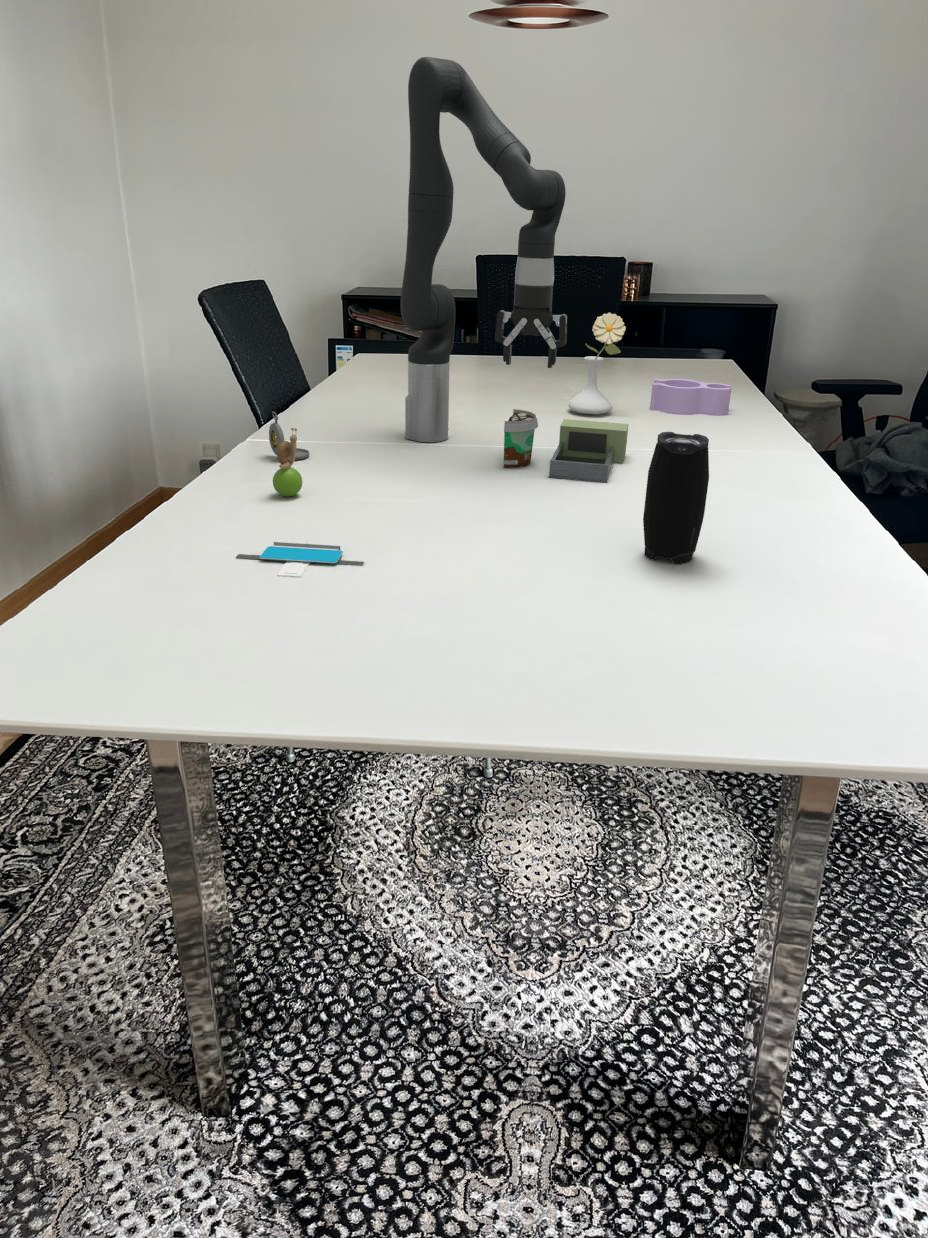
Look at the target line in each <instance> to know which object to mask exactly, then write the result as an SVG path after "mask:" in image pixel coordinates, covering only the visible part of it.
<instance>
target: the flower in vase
mask: <svg viewBox="0 0 928 1238" xmlns="http://www.w3.org/2000/svg"><path fill="white" fill-rule="evenodd" d="M626 328H627V326H625V322H624V321H623V318H621V316H619V315H617V314H616V313H612V312H607V313H603V314H602V315H600V316H597V317H596V320H595V321H594V324H593V325H592V329H591V330H592V331H591V332H593V335H594V337H595V340H596V341H598V342H600V343H604V346H603V347H602V348H601V350H600V351H598V350H597V349H596V348H595V347H591V346H590V345H588V344H587V343H586V342H585V346H586V347H587V348H588V349H589V350H591V351H593V352H595V353H597V355H596V356H591V355H590V356H589V355H588V356H585V357H583V358H584V361H585V363H586V365H587V372H588V373H587V374H588V375H587V376H588V377H587V384H586V386H585V388H584V389H583V390H582V391H580V392H579V393H578V394H576V395H575V396H574V397H573V398H571V400H569V402H568V405H567V406H568V408H569V409H570V410H571V411H573V412H576V413H578V414H584V415H599V414H600V415H602V414H607V413H608V412H611V410H612V409H613V408H614V406H613V404H612V402H611V401H610V400H609V399H608V397H606V396H605V395H604V394H603V393H602V391H600V389H598V373H599V369H600V366H601V364H602V363H603V361H604V360H605V358H604V357H601V356H600V354H601V353H602V352H603V351H604V350H605V352H606V353H607V354H608V355H610V356H611V355H617V354H620V353H621V352H622V351H621V350H620V348H619V347H618V346H616V345H615V344H614V343H618V342H619V341H621V340H622V339H623V336H624V334H625V332H626Z"/></svg>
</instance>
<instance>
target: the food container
mask: <svg viewBox="0 0 928 1238" xmlns="http://www.w3.org/2000/svg"><path fill="white" fill-rule="evenodd" d="M538 427H539V423H538V418H537V415H536V414H535V413H533V412H532V411H528V410H524V409H518V408H517V409H516V408H513V411H512V415H511V416H509V419H508V420H504V425H503V432H504V435H503V440H504V441H503V469H517V468H524V467H528V466H530V465H531V461H532V453H533V448H534V447H533V446H534V437H535V430H536V429H538Z"/></svg>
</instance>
